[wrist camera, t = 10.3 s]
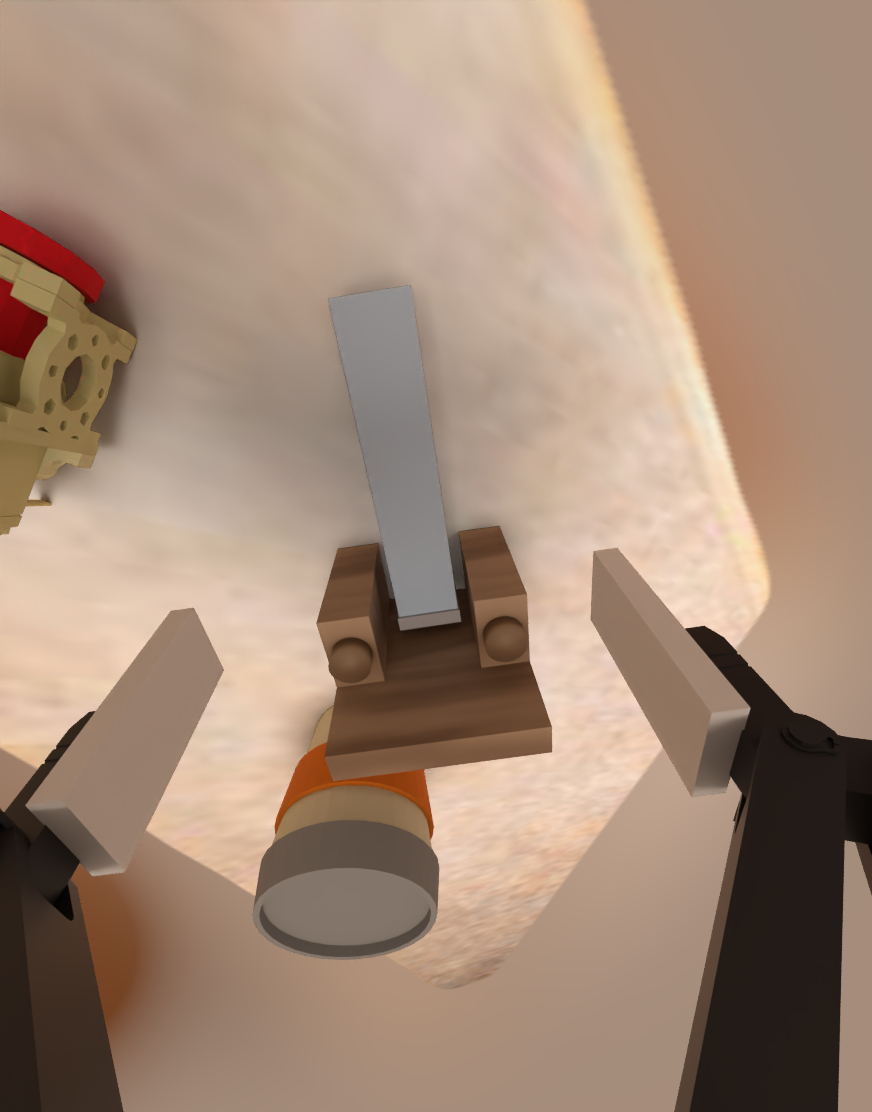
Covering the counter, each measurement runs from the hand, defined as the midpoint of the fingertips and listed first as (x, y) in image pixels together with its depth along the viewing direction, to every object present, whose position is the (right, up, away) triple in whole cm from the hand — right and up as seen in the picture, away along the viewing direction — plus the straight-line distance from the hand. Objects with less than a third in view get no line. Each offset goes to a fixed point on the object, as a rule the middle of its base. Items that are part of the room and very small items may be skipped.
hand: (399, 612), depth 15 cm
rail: (-1, +8, +16) cm, 18 cm away
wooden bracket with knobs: (0, +1, +20) cm, 20 cm away
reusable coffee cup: (-5, -15, +28) cm, 32 cm away
